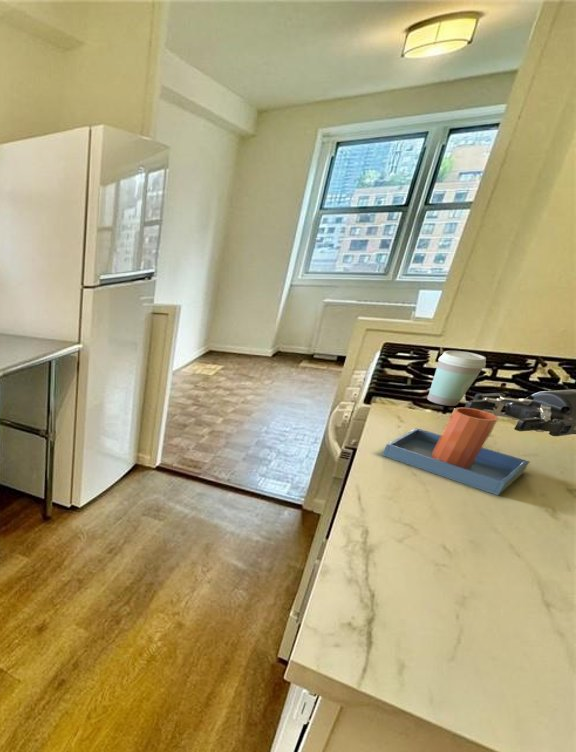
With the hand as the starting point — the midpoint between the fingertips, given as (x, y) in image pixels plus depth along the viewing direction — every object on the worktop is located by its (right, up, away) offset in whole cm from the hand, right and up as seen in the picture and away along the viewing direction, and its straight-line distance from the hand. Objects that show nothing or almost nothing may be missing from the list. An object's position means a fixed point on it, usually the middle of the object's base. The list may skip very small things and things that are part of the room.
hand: (492, 415), depth 89 cm
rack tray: (-4, -9, +4) cm, 11 cm away
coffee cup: (+22, +6, +32) cm, 40 cm away
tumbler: (-4, -9, +4) cm, 10 cm away
